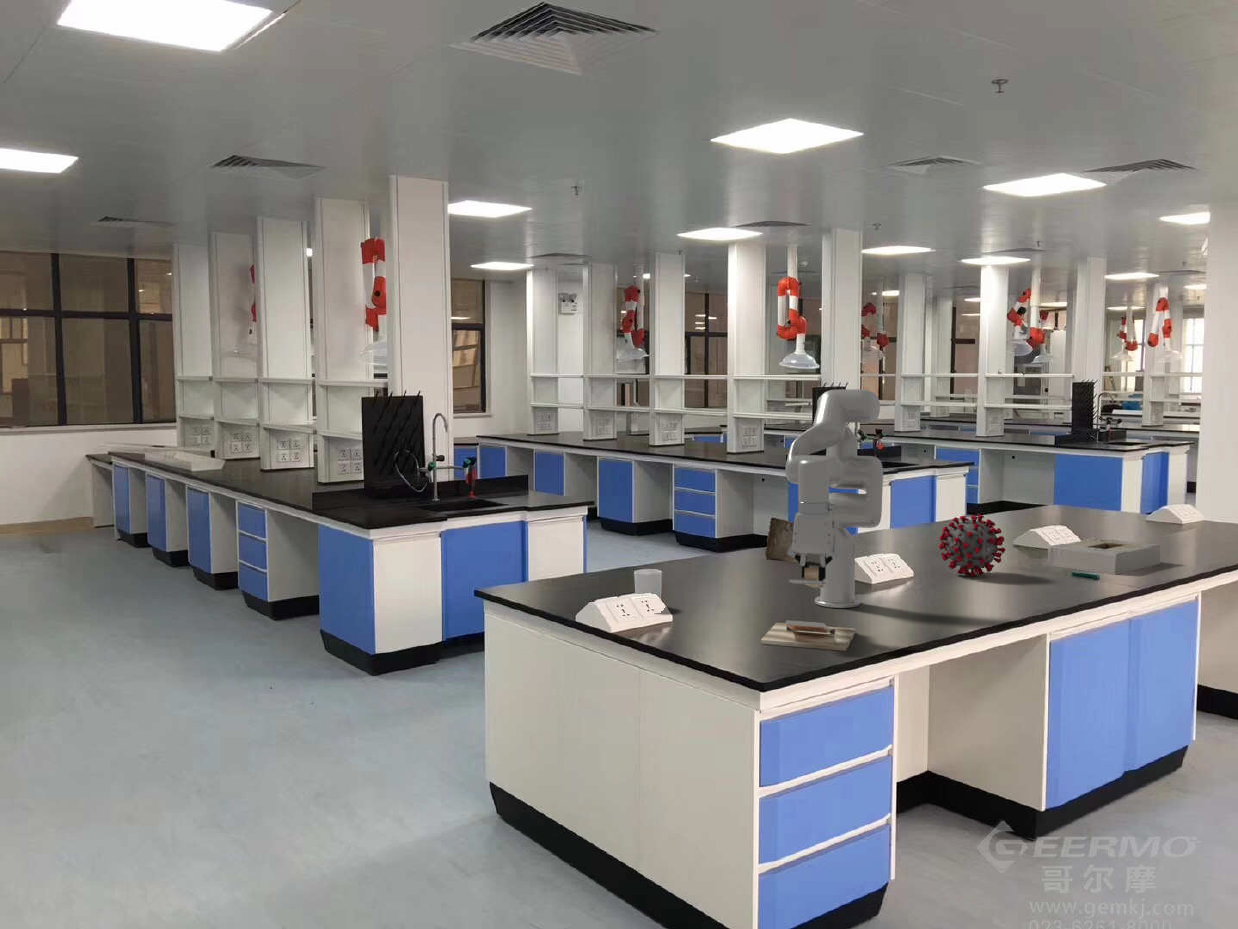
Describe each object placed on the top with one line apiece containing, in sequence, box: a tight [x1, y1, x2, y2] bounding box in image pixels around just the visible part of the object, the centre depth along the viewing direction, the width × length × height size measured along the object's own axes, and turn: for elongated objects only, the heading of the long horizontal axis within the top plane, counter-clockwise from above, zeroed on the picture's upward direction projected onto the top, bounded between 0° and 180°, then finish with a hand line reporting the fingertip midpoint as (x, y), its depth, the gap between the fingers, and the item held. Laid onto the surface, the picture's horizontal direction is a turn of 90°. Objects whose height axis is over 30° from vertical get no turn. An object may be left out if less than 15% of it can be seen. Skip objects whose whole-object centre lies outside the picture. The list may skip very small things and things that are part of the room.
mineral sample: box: [765, 517, 801, 564], centre depth 342 cm, size 17×4×15 cm, turn 41°
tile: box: [785, 619, 829, 633], centre depth 233 cm, size 9×9×1 cm
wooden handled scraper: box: [788, 567, 827, 589], centre depth 238 cm, size 19×8×4 cm, turn 159°
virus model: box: [938, 514, 1006, 577], centre depth 313 cm, size 20×20×20 cm
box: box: [1047, 537, 1161, 576], centre depth 330 cm, size 23×8×32 cm
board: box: [760, 622, 857, 652], centre depth 236 cm, size 18×20×2 cm
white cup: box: [633, 568, 663, 600], centre depth 272 cm, size 8×8×10 cm
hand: (813, 580), depth 240 cm, fingers closed on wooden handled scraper, 3 cm apart
